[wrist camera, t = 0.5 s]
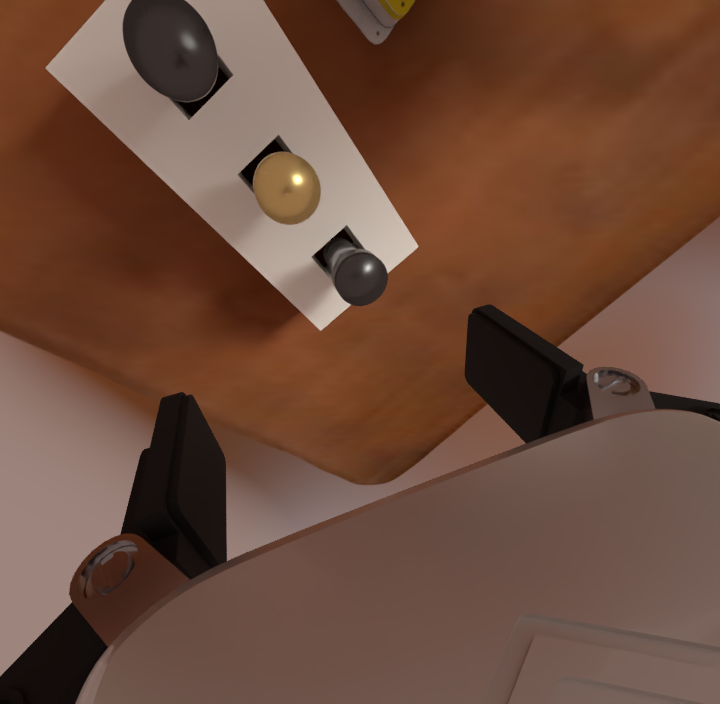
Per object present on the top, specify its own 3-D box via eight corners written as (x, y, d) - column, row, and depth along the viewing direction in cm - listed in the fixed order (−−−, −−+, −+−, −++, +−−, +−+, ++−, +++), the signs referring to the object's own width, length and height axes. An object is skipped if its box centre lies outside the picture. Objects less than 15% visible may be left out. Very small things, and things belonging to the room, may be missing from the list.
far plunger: (342, 221, 30) (368, 242, 25) (367, 255, 33) (397, 281, 27) (307, 252, 31) (325, 280, 25) (335, 283, 33) (357, 315, 28)
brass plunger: (276, 134, 26) (290, 137, 20) (311, 181, 28) (333, 195, 22) (236, 172, 26) (239, 185, 20) (275, 215, 28) (287, 237, 23)
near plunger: (180, 7, 21) (163, -35, 15) (233, 77, 23) (235, 62, 18) (134, 57, 21) (101, 33, 16) (190, 120, 24) (179, 119, 18)
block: (203, -56, 23) (197, -104, 18) (393, 230, 37) (418, 246, 32) (80, 79, 24) (45, 68, 19) (308, 304, 38) (320, 330, 34)
